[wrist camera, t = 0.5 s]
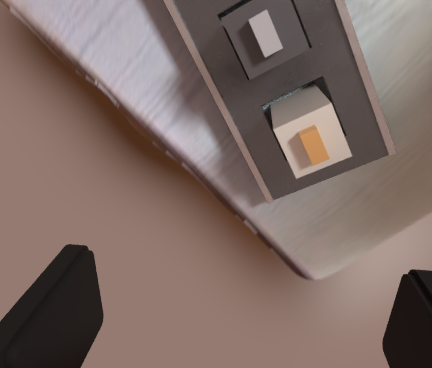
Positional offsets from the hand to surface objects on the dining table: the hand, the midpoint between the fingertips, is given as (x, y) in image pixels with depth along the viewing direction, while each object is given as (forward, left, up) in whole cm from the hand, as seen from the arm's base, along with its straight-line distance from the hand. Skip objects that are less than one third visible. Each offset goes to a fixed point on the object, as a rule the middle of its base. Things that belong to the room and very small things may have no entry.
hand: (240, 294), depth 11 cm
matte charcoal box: (-4, -6, -24) cm, 25 cm away
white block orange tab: (-4, +2, -24) cm, 24 cm away
